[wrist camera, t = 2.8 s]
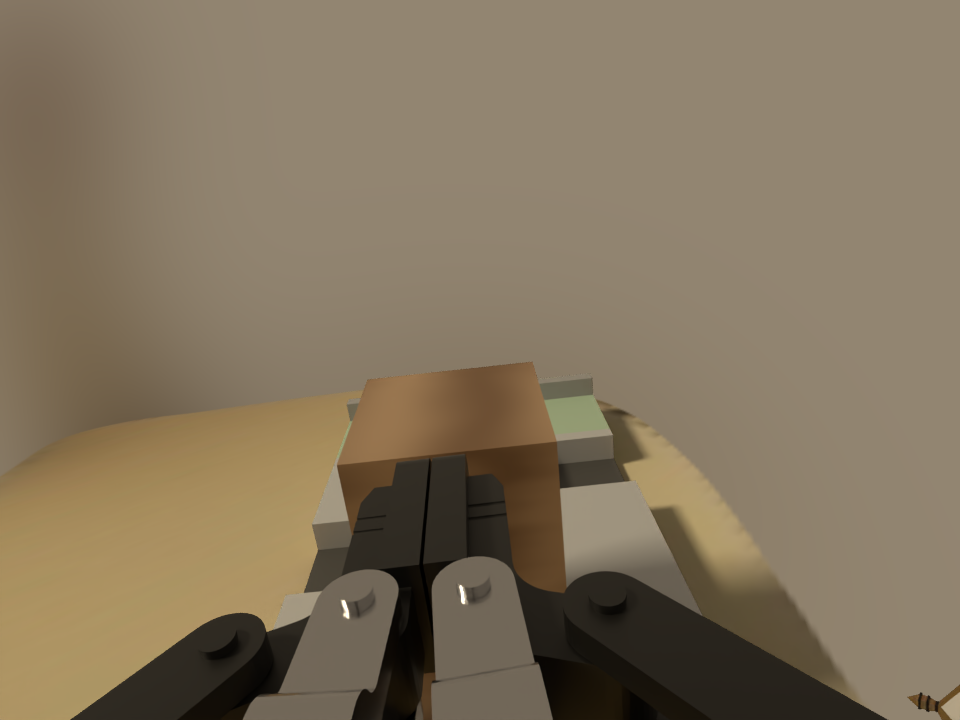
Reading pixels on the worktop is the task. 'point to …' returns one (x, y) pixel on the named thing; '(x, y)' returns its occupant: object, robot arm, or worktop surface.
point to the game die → (940, 704)
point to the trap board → (584, 504)
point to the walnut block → (467, 454)
